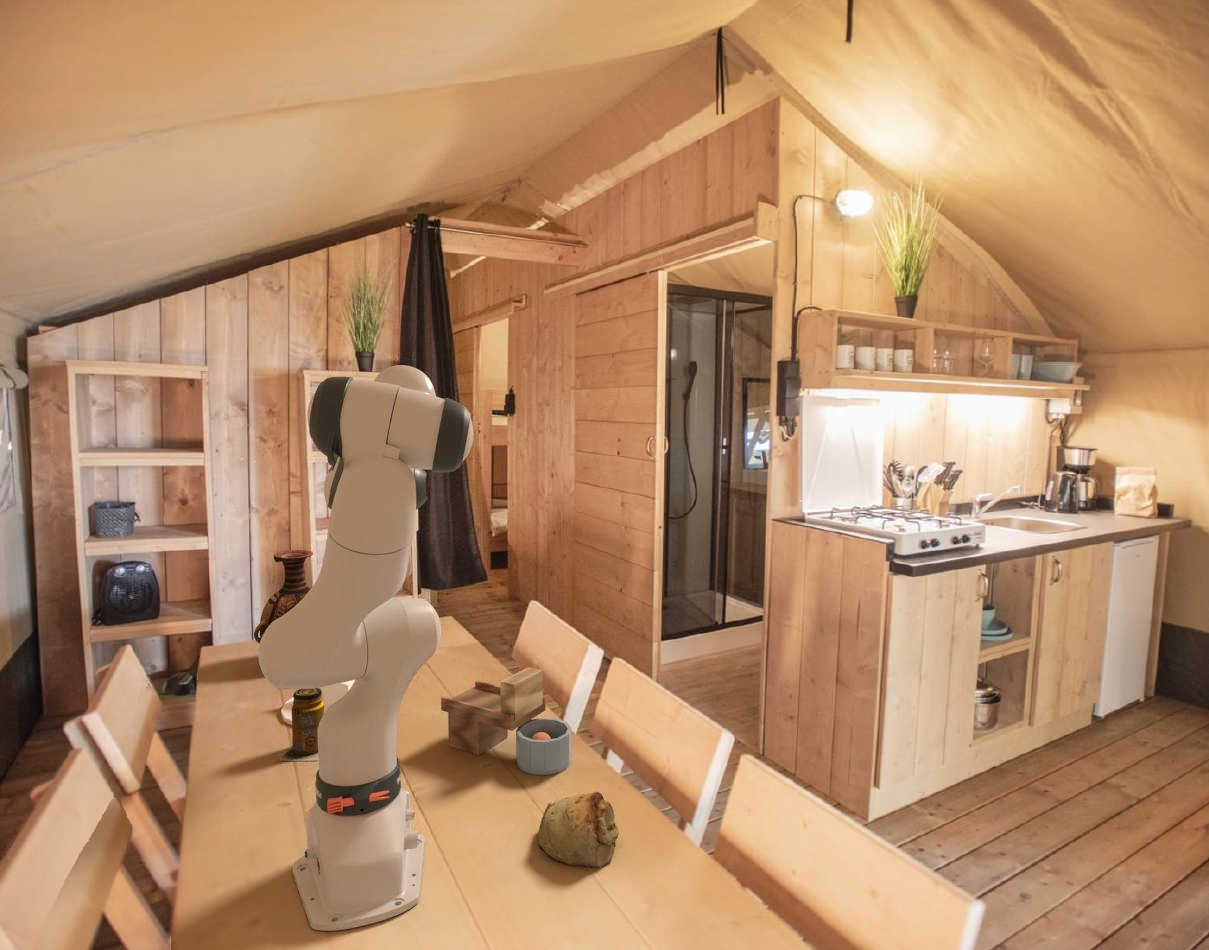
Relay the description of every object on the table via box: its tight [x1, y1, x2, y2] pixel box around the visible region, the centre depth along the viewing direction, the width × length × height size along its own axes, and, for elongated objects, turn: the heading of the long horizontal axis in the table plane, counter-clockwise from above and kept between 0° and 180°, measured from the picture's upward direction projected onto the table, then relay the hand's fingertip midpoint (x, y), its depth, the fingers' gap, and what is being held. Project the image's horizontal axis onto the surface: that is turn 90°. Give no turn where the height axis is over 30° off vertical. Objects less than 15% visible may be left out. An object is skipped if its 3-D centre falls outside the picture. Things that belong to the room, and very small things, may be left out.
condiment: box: [279, 688, 324, 762], centre depth 139 cm, size 7×8×12 cm
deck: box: [440, 680, 546, 756], centre depth 142 cm, size 18×11×10 cm, turn 59°
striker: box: [499, 666, 544, 720], centre depth 138 cm, size 4×9×7 cm, turn 149°
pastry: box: [537, 791, 620, 869], centre depth 110 cm, size 14×12×8 cm
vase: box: [253, 549, 314, 645], centre depth 189 cm, size 21×18×30 cm
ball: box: [531, 732, 551, 740], centre depth 137 cm, size 4×4×4 cm
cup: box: [515, 717, 573, 776], centre depth 135 cm, size 10×10×6 cm
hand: (397, 589), depth 144 cm, fingers closed
